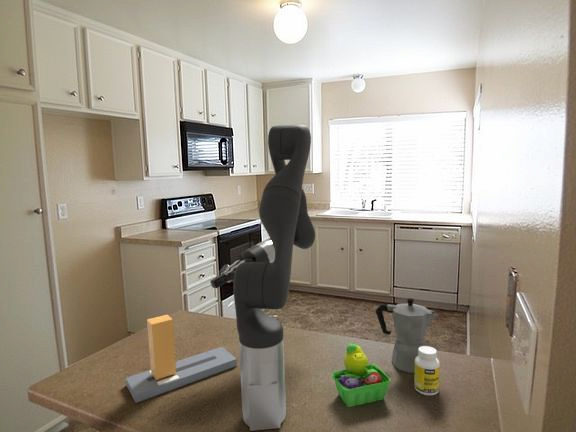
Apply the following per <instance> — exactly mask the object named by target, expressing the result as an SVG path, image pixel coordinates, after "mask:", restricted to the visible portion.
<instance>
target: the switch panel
mask: <svg viewBox="0 0 576 432" xmlns="http://www.w3.org/2000/svg"><path fill="white" fill-rule="evenodd" d="M175 361H176V373H175V374H172V375H169V376H167V377H164V378H161V379H158V380H156V379H155V378H154V377H153V375H152V374H151V369H149V370H146V371H143V372H140V373H136V374H133V375H130V376H128V377H125V382H126V383H125V385H126V387H127V389H128V391H129V393H130V395H131V397H132V399H133V401H134V402H135V404H137V403H140V402H143V401H145V400H148V399H151V398H154V397H156V396H159V395H162V394H164V393H165V394H166V393H167V392H170V391H172V390H175V389H178V388H180V387H184V386H187V385H189V384H191V383H194V382H198V381H199V380H202V379H206V378H208V377H210V376H213V375H216V374H219V373H222V372H224V371H227V370H230V369H232V368H236V367H237V366H238V359H237V358H236V357H235V356H234V355H233V354H231V353H230V352H229V351H228V350H227V349H225V348H224V347H223V346H220V347H216V348H213V349H210V350H207V351H204V352H201V353H199V354H195V355H192V356H189V357H186V358H183V359H179V360H175Z"/></svg>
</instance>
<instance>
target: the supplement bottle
mask: <svg viewBox="0 0 576 432" xmlns="http://www.w3.org/2000/svg"><path fill="white" fill-rule="evenodd" d="M437 353H438V352H437V349H436V348H434V347H432V346H428V345H425V346H421V347H419V349H418V356H417V357H416V358H415V373H414V379H413V380H414V382H413V386H414V389H415V390H416V391H417V392H418V393H419V394H422V395H425V396H435V395H437V394H438V393H439V392H440V391H439V389H440V371H441V369H440V367H441V365H440V361H439V359H438V358H437V356H438V355H437Z"/></svg>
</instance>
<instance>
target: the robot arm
mask: <svg viewBox="0 0 576 432" xmlns="http://www.w3.org/2000/svg"><path fill="white" fill-rule="evenodd" d="M311 136H312V134H311V130H310V129H309V127H308V126H307V125H304V124H279V125H273V126H271V128H270V129H269V132H268V137H267V145H268V152H269V156H270V159H271V163H272V166H273V170H274V174H275V175H274V176H273V177H271V179H270V180H269V181H268V182H267V183H266V184H265V186H264V189H263V191H262V195H261V200H260V203H259V204H260V205H259V209H258V214H259V218H260V221H261V224H262V225H263V228H264V230H265V231H266V233H267V234H268V236H269V238H268V239H265V240H263V241H260V242H259V243H257V244H255V245H253V246H251V247H249V248H247V249H245V250H244V251H242V253H241V256H240V259H238V260H236V261H234V262H233V263H232V264H230V265H229V264H228V263H226V264H224V265H223V266H222V267H221V269H220V270H219V272H218V273H219V275H217V276H216V277H215V278H212V279H211V280H210V285H211V287H212V288H213V289H218V288H220V287H221V286H224V285H225V284H226V283H231V282H233V283H232V284H233V287H232V288H233V300H234V309H235V318H236V329H237V332H238V333H237V334H238V340H239V341H238V344H239V347H238V348H239V369H240V371H239V372H240V387H241V388H240V389H241V391H240V392H241V407H242V409H241V410H242V420H243V422H244V423H245V425H247V426H248V427H249V431H263V430H264V431H265V430H273V429H275V430H276V429H280V428H281V427H282V426H281V424H282V423H283V422H284V421H285V419H286V416H287V405H286V403H287V402H286V401H287V400H286V379H285V378H286V377H285V374H286V373H285V347H284V346H285V345H284V344H285V342H284V340H285V339H284V336H285V335H284V326H283V324H282V323H281V322H280V321H279V320H278V319H277V318H274V317H273V316H270V315H268V314H266V313H265V312H264V311H262V310H261V309H264V310H280V309H283V308H284V307H285V305H286V303H287V301H288V299H289V293H290V285H291V276H292V275H291V274H292V261H293V250H294V246H295V247H298V248H300V249H301V250H307V249H309V248H311V247H312V246H313V245H314V242H315V241H316V231H315V228H314V225H313V223H312V220H311V217H310V215H309V214H308V212H309V211H308V202H307V196H306V193H305V191H304V189H303V182H304V177H305V172H306V168H307V164H308V159H309V156H310V151H311V146H312V137H311ZM286 161H288V162H287V163H286Z"/></svg>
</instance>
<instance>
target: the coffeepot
mask: <svg viewBox="0 0 576 432" xmlns="http://www.w3.org/2000/svg"><path fill="white" fill-rule="evenodd" d="M406 301H407V303H397V304H396V305H395V304H386V303H385V304H384V303H381V304H379V306H378V307H377V308H376V309H375V314H376V316H377V319H378V322H379V325H380V328H381V331H382V333H383V334H384V335H391V334H392V331H390V330H388V329H387V324H386V322H385V316H384V313H383V312H387V313H390V314H392V319H393V324H394V332H395V334H396V338H395V341H394V345H393V346H394V347H393V350H392V355H391V363H392V365H393V366H394V367H395V368H396V369H398V370H399V371H401V372H405V373H410V374H415V358H416V357H417V356H418V349H419V347H421V346H426V344H425V343H426V342H425V341H424V337H425V336H426V334H427V329H428V326H429V325H430V324H431V322H432V321H433V319H434V318H436V317H438V316H439V315H438V312H436V311H434V310H431V309H428V308H427V307H426V306H424V305H419V304H415V303H414V298H412V297H408V298H406Z"/></svg>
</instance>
